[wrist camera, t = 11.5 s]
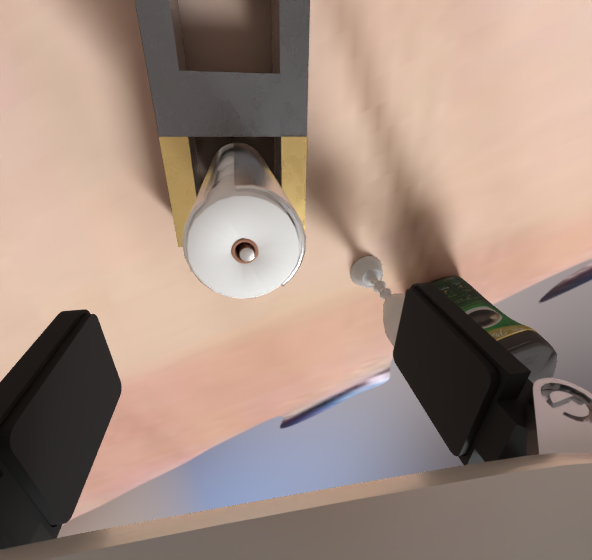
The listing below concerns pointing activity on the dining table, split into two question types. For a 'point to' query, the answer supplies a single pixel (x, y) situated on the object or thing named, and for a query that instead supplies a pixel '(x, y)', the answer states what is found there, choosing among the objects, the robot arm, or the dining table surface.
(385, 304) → the chalice
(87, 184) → the dining table surface
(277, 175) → the dock
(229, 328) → the dining table surface
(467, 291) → the coffee jar
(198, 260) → the silver long cylinder
